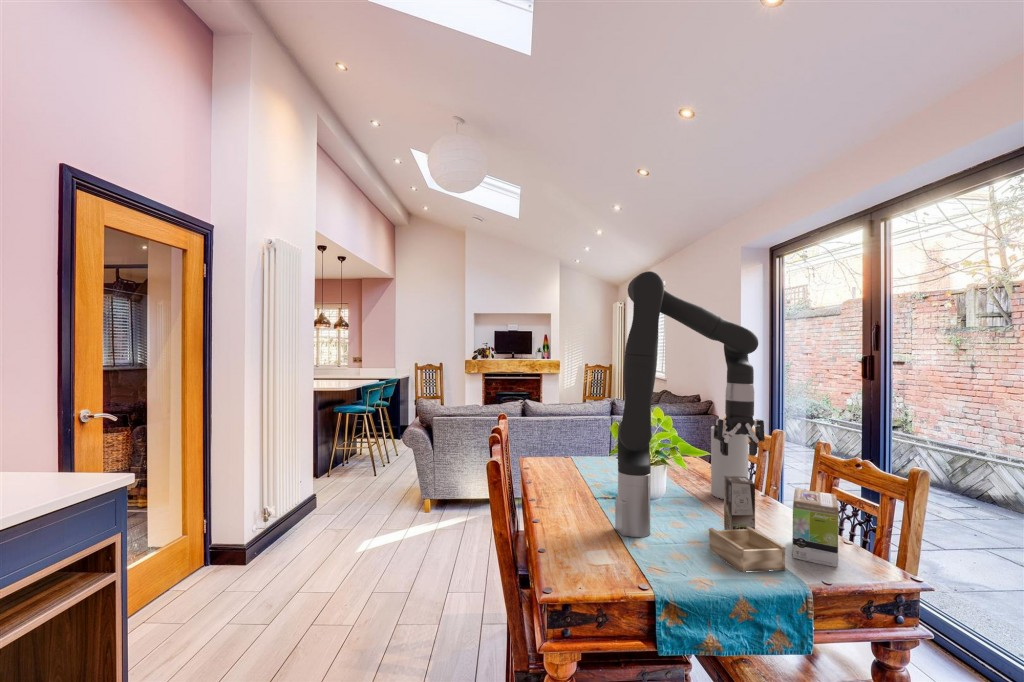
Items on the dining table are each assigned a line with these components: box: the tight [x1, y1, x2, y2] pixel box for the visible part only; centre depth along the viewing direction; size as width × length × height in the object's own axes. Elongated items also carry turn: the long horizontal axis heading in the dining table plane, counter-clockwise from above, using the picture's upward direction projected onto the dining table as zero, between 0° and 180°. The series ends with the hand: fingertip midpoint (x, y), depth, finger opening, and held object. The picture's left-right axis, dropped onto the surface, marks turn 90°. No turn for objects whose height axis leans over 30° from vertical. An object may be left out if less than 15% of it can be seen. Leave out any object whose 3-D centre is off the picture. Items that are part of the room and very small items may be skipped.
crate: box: [708, 527, 787, 573], centre depth 121 cm, size 12×14×6 cm
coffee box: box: [723, 476, 756, 530], centre depth 137 cm, size 9×6×16 cm
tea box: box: [791, 488, 840, 568], centre depth 125 cm, size 15×10×15 cm, turn 148°
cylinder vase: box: [710, 425, 749, 500], centre depth 176 cm, size 12×12×25 cm
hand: (738, 455), depth 138 cm, fingers open, 8 cm apart
